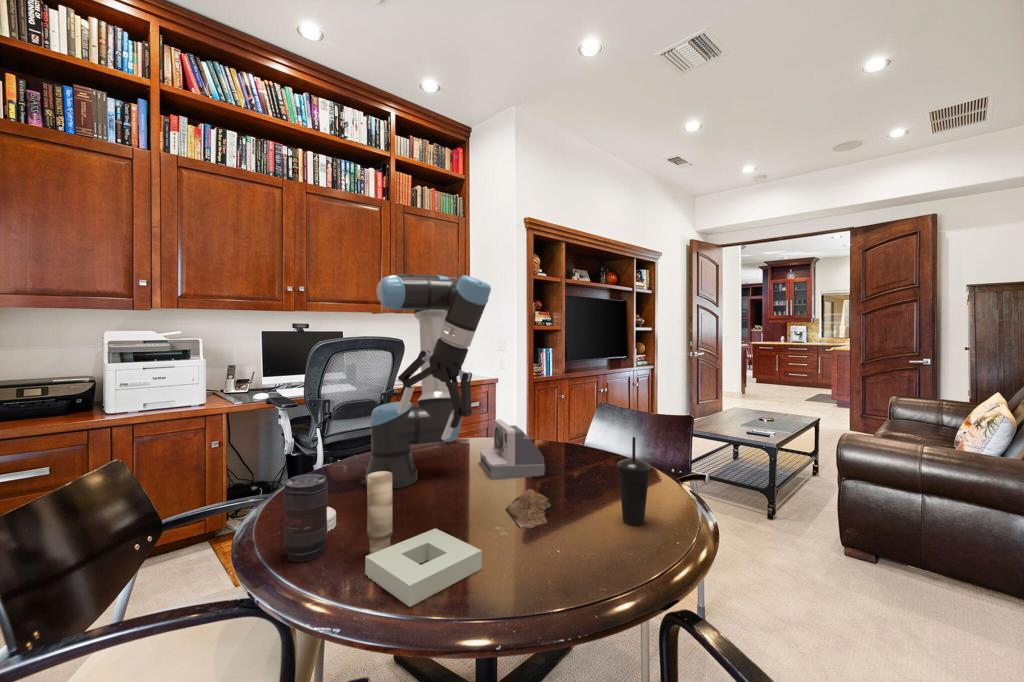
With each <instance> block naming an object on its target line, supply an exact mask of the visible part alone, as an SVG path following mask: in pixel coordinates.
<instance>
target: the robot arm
mask: <svg viewBox="0 0 1024 682" xmlns="http://www.w3.org/2000/svg"><path fill="white" fill-rule="evenodd" d="M375 288H376V289H375V294H376V298H377V300H378V301H379V302H380V304H381V306H382V307H383V309H387V310H388V309H389V310H390V309H391V310H395V311H397V310H402V311H413V313H414V314H413V316H414V318H415V319H416V320H418V322H419V341H420V342H419V344H420V345H419V347H420V351H419V354H418V356H417V358H416V359H414V360H413V362H412V363H411V364H410V365H409V366H407V368H405V370H404V371H403V372H402V373H400V375H399V376H398V377H397V378H398V381H400V382H401V383H402V387H401V391H400V394H399V398H400V401H393V402H388V403H384V404H381V405H378V406H376V407H375V408H373V410H372V411H371V417H370V418H371V420H370V421H371V422H370V426H371V438H370V441H371V442H370V443H371V445H370V447H371V448H370V450H371V451H370V452H371V453H370V459H369V463H368V466H367V469H366V473H365V476H364V484H365V486H366V487H367V476H368V474H370V473H373V472H379V471H387V472H391V473H392V490H395V489H402V488H405V487H408V486H411V485H413V484H415V483H416V482H417V481H418V470H417V468H416V467H417V466H416V464H415V461H414V458H413V454H412V446H414V445H427V444H428V445H429V444H439V443H440V444H443V443H446V442H447V443H448V442H453V441H456V439H457V438H458V436H459V434H460V432H461V431H460V430H461V426H462V417H464V418H465V417H469V416H471V415H472V413H473V411H472V391H471V382H472V378H473V373H472V372H471V371H469V372H467V371H464V370H462V367H463V365H464V363H465V360H466V357H467V355H468V352H469V349H468V348H469V347H471V345H472V342H473V339H474V338H475V337H474V336H475V333H476V331H477V329H478V325H479V323H480V321H481V318H482V316H483V314H484V311H485V308H486V306H487V304H488V302H489V297H490V294H491V291H492V287H491V285H490V284H488V283H487V282H484V281H483V280H480V279H477V278H475V277H472V276H469V275H465V274H464V275H461V277H460V278H459V277H449V276H448V277H447V276H446V275H445V276H444V275H439V274H438V275H437V274H434V275H433V274H413V273H412V274H411V273H398V274H393V275H388V276H385V277H383V278H382V279H380V280H379V281H378V282H377V285H376V287H375ZM420 368H421V369H420ZM419 369H420V372H418V373H417V374H415V373H416V372H417V371H418V370H419ZM414 374H415V375H414ZM458 376H459V380H460V389H459V386H458V385H459V382H458ZM419 382H421V395H420V396H419V398H418V399H417V402H416V403H417V405H413V404H412V402H411V399H412V396H413V393H414V390H415V387H414V385H415V384H417V383H419Z"/></svg>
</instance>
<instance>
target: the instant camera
mask: <svg viewBox="0 0 1024 682" xmlns="http://www.w3.org/2000/svg"><path fill="white" fill-rule="evenodd" d="M479 453H480V465H481V467H482V466H483V467H482V468H483V469H485V470H484V471H485V472H486V473H487V476H489V478H490V479H491V480H492V481H498V479H499V480H507V479H509V478H511V479H519V478H520V479H521V477H522V478H530V477H531V478H532V477H533V476H534V477H541V475H543V476H545V472H546V466H545V465H546V463H545V457H544V455H543V454H542V452H541V451H540V450H539V449H538V446H536V444H535V443H534V442H533V440H532V439H531V438H530V437H529V436H528V435H527V434H526V433H525V432H524V431H523V430H522V429H521V428H520V427H519V426H517V425H515V424H514V425H509V424H508V423H506V422H505V421H504V420H502V419H494V420H493V447H487V448H482V449H480V450H479ZM509 480H510V479H509Z"/></svg>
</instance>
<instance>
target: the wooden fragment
mask: <svg viewBox="0 0 1024 682" xmlns="http://www.w3.org/2000/svg"><path fill="white" fill-rule="evenodd" d="M549 500H550V499H549V498H548V497H546V496H545V495H544V494H541V493H539V492H536V490H534V489H531V488H528V489H527V490H525V491H524V492H523V493H522V494H520V495H519V496H518V497H516V498H515V499H514V500H513V501H512V502H511V503H510V504H508V506H506V508H505V510H507V512H508V513H509V514H510V516H511V517H512V519H513V520H514V521H515V523H516V524H517V525H518V526H519V529H520V530H521V529H532V528H535V527H538V526H539V527H540V526H543V525H546V524H548V521H547V517H546V514H547V513H546V510H547V509H549V508H551V505H552V504H551V503H550V502H549Z"/></svg>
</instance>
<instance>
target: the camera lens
mask: <svg viewBox="0 0 1024 682" xmlns="http://www.w3.org/2000/svg"><path fill="white" fill-rule="evenodd" d="M328 485H329V484H328V481H327V477H326V476H325V475H322V474H318V473H311V474H310V473H307V474H299V475H296V476H295V475H294V476H293V477H290V478H288V479H287V480H285V481H284V487H283V489H282V492H283V495H282V496H283V497H282V498H283V499H282V500H283V501H282V503H283V511H284V519H283V520H284V524H283V525H284V526H283V527H284V528H283V541H284V550H285V552H287V558H288V560H290V561H292V562H306V561H311V560H314V559H316V558H318V557H320V556H321V555H323V553H324V552H325V545H326V544H327V539H328V532H327V507H328V501H329V495H328V494H329V490H328V489H329V488H328Z"/></svg>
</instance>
